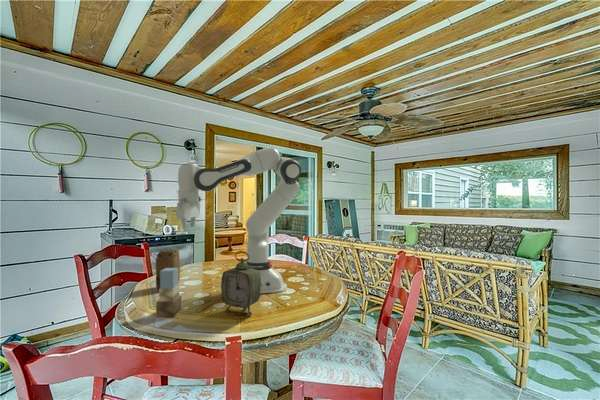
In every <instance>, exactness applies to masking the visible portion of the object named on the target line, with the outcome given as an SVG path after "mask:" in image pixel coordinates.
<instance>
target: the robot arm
mask: <svg viewBox="0 0 600 400" xmlns="http://www.w3.org/2000/svg"><path fill="white" fill-rule="evenodd" d="M271 170H273V172H274V173H275V175H277V176H278V177H279V178H280V181H279V183H278V185H277V186H276V187H275V188H274V189H273V190H272V191H271V192H270V193H269V194H268V196H267V197H266V198H265V199H264V200H263V201H262V203H261V204H260V205H259V206H258V207H257V208H256V209H255V211H253V212H252V214H251V215H250V216H249V217H248V218H247V220H246V222H245V228H246V231H247V242H246V243H247V244H246V253H248V255H249V260H248V261H245V263H247V265H248V267H249V268H253V269H256V270H258V271H259V272H260V276H261V293H260V294H267V293H269V294H270V293H271V294H273V293H283V292H286V291H287V288H288V285H287V283H286V282H284V280H283V277H282V274H281V273H279V272H278V271H277V270H276V269H274V268H273V261H271V260H269V235H270V233H269V230H270V229H269V228H270V227H272V225H273V224H274V223H275V222H276V220H277V219H278V217H280V215H281V214H282V213H283V212H284V211H285V209H286V208H287V207H288V206H289V205H290V204H291V203H292V202H293V200H294V199H295V197H296V196H297V194H298V193H299V191H300V188H301V187H300V183H299V179H300V177H301V174H302V166H301V164H300V163H299V162H298V161H297V160H295V159H293V158H291V157H284V156H282V155H280V152H279V151H278V150H277V149H276V148H275V147H265V148H261V149H257V150H255V151H252V152H250V153H247V154H246V155H244V156H241V158H239V159H237V160H235V161H233V162H231V163H228V164H225V165H222V166H220V167H216V168H215V167H213V168H210V167H207V168H206V167H204V168H203V167H200V166H199V165H198V164H196V163H193V162H192V163H190V162H189V163H184V164H182V165H181V166H180V165H179V167H178V174H177V184H178V190H177V194H178V195H177V201H178V202H177V204H176V212H175V213H176V214H175V216H176V219H177V220H180V222H181V226H182V229H183V230H187V229H188V227H191V228H194V227H196V221H197V218H198V217H200V214H201V202H202V198H201V196H200V194H199V191H203V192H210V191H211V192H212V191H214V190H215V189H217V187H218V186H219V184H220V183H222V182H224V181H227V180H230V179H232V178H235V177H237V176H256V175H260V174H263V173H265V172H267V171H271ZM188 219H190V223H189V226H188ZM247 259H248V256H247V255H246V260H247Z"/></svg>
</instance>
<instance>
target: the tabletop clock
mask: <svg viewBox="0 0 600 400" xmlns="http://www.w3.org/2000/svg"><path fill="white" fill-rule="evenodd" d="M238 254H245V255H246V257H247V256H248V259H247V258H246V259H244V258H243V257H240V258H238V257H237V255H238ZM234 258H235V259H236V261H238V262H237V264H236V266H235V267H233V268H231V269H227V270H225V271H223V273H222V275H221V285H220V289H221V292H220V293H221V298H222V302H223V303H224V304H225V305H228V306H227V307H226V308H225V312H227V313H228V312H230V308H231V307H233V308H241V309H242V310H244V311H247V317H251V316H252V312H251V311H250V308H251V307H250V306H253V305H254V304H256V303H257V302H259V300H260V298H261V294H262V293H261V276H260V272H259V271H258V270H256V269H253V268H249V267H248V265H247V263H246V261H248V260H249V255H248V253H247V251H243V250H241V251H237V252H236V253H235V254H234Z"/></svg>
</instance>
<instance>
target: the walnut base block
mask: <svg viewBox="0 0 600 400" xmlns="http://www.w3.org/2000/svg"><path fill="white" fill-rule="evenodd" d="M155 304H156V305H155V309H156V310H155V313H156V315H155V317H156V318H175V317H176V316H177V315H178V314H179V313H180V312H181V311H182V295H179V297H178V298H177V299H176V300H175V301H173V302H159V300H158V301H156V303H155ZM180 310H181V311H180ZM179 311H180V312H179ZM178 312H179V313H178ZM177 313H178V314H177ZM176 314H177V315H176ZM175 315H176V316H175Z"/></svg>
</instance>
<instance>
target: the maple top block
mask: <svg viewBox="0 0 600 400" xmlns="http://www.w3.org/2000/svg"><path fill="white" fill-rule="evenodd" d="M158 291H159V293H158V298H159V299H158V301H159V302H173V301H175V300H176V299H177V298H178V297H179V296H180V284H178V285H177V286H176V287H175V288H173V289H160V288H158Z"/></svg>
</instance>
